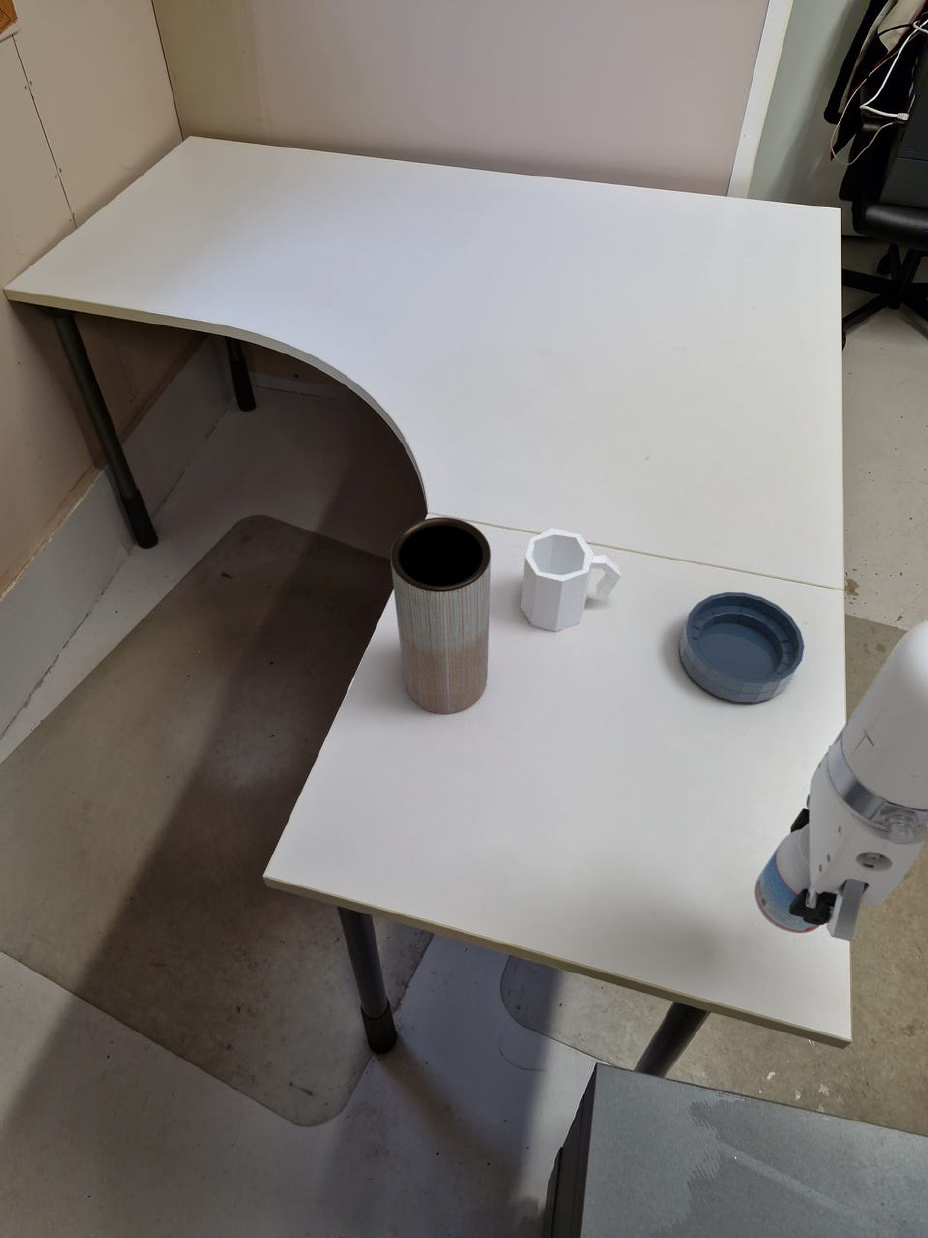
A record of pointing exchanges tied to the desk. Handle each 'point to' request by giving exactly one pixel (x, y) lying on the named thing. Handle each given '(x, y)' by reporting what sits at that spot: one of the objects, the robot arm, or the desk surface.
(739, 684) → the dish
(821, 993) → the desk surface
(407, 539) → the planter
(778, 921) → the pill bottle
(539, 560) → the mug
